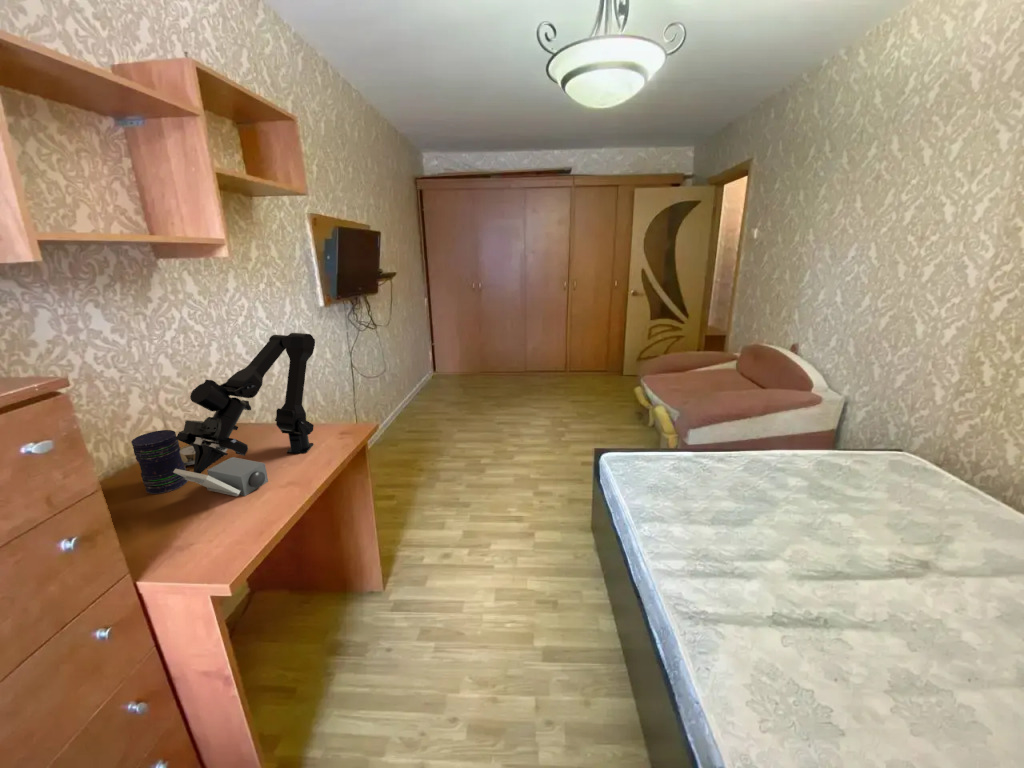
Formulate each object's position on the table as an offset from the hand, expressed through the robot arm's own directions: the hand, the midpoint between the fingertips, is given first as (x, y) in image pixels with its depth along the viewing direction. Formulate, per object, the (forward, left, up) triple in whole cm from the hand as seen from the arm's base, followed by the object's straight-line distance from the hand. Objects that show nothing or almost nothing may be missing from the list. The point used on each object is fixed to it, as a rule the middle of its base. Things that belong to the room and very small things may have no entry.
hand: (195, 474), depth 111 cm
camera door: (-6, +2, -9) cm, 10 cm away
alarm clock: (-27, -18, -10) cm, 34 cm away
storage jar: (-12, -17, -10) cm, 23 cm away
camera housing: (-11, +4, -10) cm, 15 cm away
